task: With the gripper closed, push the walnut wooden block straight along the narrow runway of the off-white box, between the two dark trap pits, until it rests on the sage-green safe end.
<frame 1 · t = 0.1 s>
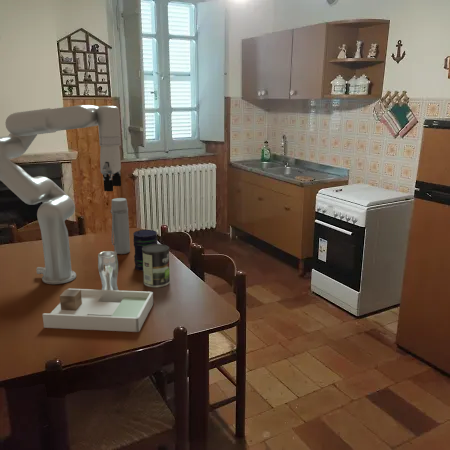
hand: (113, 188, 164), 37 cm above the table, tool pointing down, fingers open, 9 cm apart
coffee can: (156, 282, 173), on the table
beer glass: (110, 292, 164), on the table
walnut block: (71, 306, 147), point 2 cm above the table, touching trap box
water bottle: (120, 253, 205), on the table
storage jar: (146, 267, 189), on the table
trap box: (101, 314, 147), on the table
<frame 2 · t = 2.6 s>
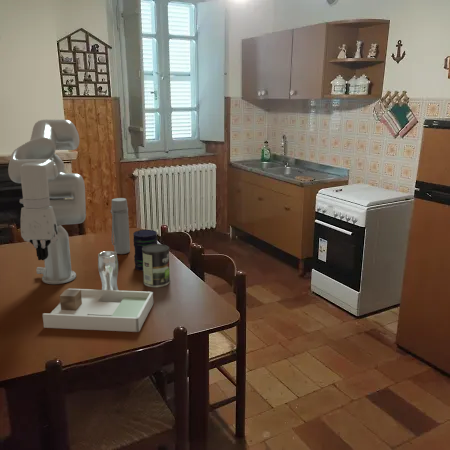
hand: (43, 258, 143), 19 cm above the table, tool pointing down, fingers closed
nothing on the table moved.
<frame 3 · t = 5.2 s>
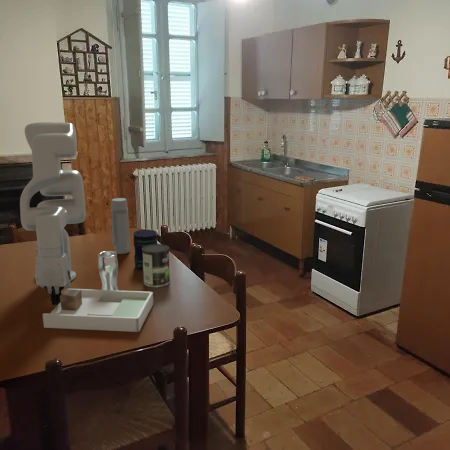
hand: (56, 303, 147), 4 cm above the table, tool pointing down, fingers closed
walnut block: (71, 306, 147), point 3 cm above the table, touching gripper
everything else where it was.
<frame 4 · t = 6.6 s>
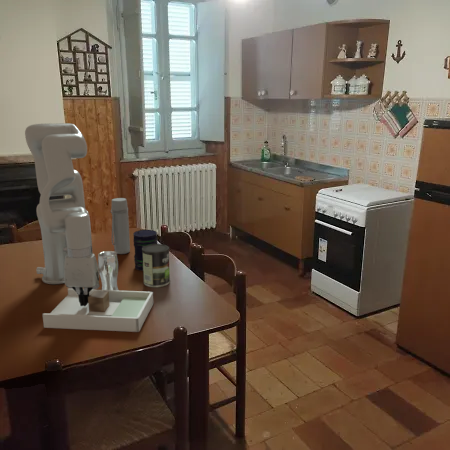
hand: (84, 304, 146), 4 cm above the table, tool pointing down, fingers closed
walnut block: (99, 308, 146), point 3 cm above the table, touching gripper
everything else where it was.
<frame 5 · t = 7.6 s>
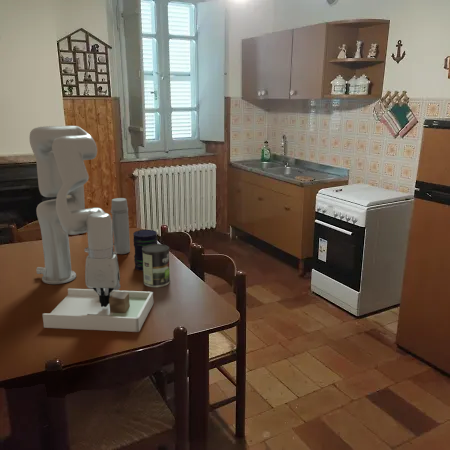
hand: (105, 304, 145), 4 cm above the table, tool pointing down, fingers closed
walnut block: (120, 309, 145), point 3 cm above the table, touching gripper
everything else where it was.
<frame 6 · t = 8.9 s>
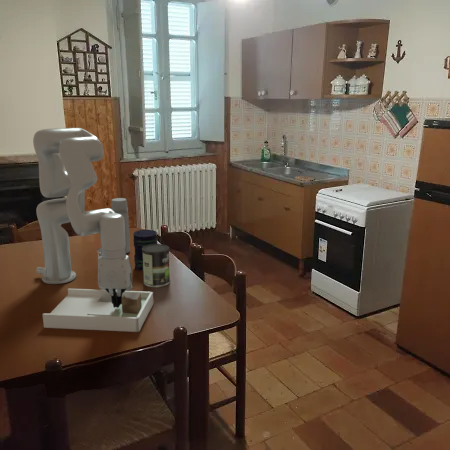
hand: (117, 305, 145), 4 cm above the table, tool pointing down, fingers closed
walnut block: (132, 309, 145), point 2 cm above the table, touching gripper, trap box
everything else where it was.
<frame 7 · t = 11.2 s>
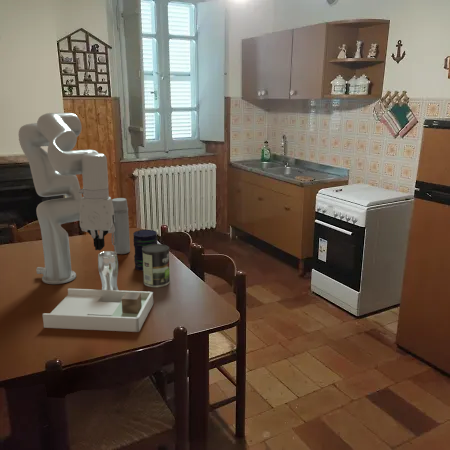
hand: (99, 248, 144), 22 cm above the table, tool pointing down, fingers closed
walnut block: (132, 309, 145), point 2 cm above the table, touching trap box
everything else where it was.
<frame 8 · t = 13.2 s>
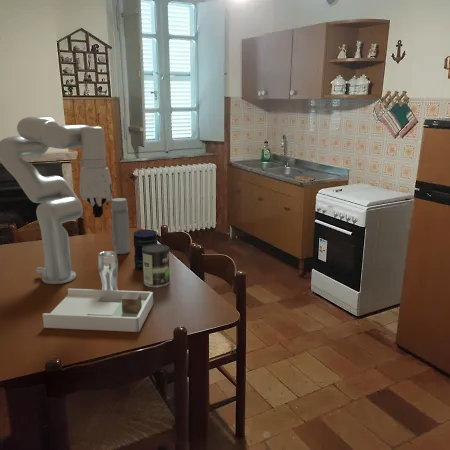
hand: (98, 216, 155), 29 cm above the table, tool pointing down, fingers closed
nothing on the table moved.
at the end: walnut block inside the target area on the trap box (0.7 cm from its centre), point 2.5 cm above the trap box's base; walnut block tilted 0°; walnut block moved 20.4 cm from its start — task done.
